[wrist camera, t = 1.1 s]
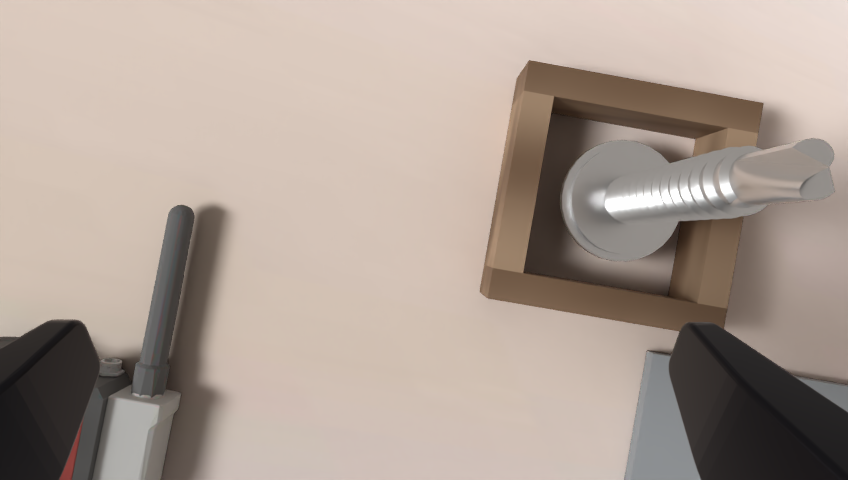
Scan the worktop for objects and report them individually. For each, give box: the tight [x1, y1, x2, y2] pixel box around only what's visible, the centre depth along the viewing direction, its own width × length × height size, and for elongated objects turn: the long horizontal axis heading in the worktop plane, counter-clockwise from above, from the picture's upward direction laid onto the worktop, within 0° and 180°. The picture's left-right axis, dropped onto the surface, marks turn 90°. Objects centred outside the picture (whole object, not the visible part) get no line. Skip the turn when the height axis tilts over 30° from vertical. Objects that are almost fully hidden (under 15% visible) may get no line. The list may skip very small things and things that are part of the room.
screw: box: [560, 139, 835, 261], centre depth 18 cm, size 13×5×5 cm
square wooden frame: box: [480, 60, 763, 331], centre depth 23 cm, size 9×9×2 cm
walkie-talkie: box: [0, 205, 194, 480], centre depth 22 cm, size 9×4×20 cm
